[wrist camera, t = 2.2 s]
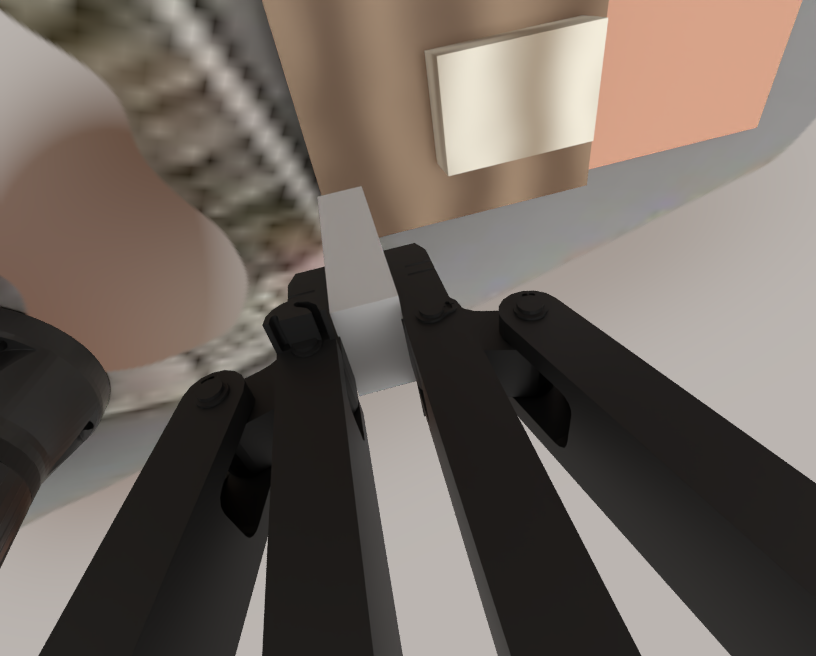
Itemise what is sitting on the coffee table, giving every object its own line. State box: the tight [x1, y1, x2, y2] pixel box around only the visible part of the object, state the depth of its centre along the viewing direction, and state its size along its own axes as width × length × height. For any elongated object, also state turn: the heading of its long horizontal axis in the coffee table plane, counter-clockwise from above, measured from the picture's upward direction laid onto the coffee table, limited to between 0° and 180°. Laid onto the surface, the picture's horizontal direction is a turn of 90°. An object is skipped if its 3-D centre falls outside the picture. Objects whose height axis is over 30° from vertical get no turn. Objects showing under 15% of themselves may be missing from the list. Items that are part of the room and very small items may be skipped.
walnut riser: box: [262, 0, 609, 237], centre depth 26 cm, size 18×14×4 cm
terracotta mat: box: [589, 0, 802, 169], centre depth 28 cm, size 16×15×1 cm
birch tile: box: [424, 15, 608, 176], centre depth 24 cm, size 9×6×2 cm, turn 99°
